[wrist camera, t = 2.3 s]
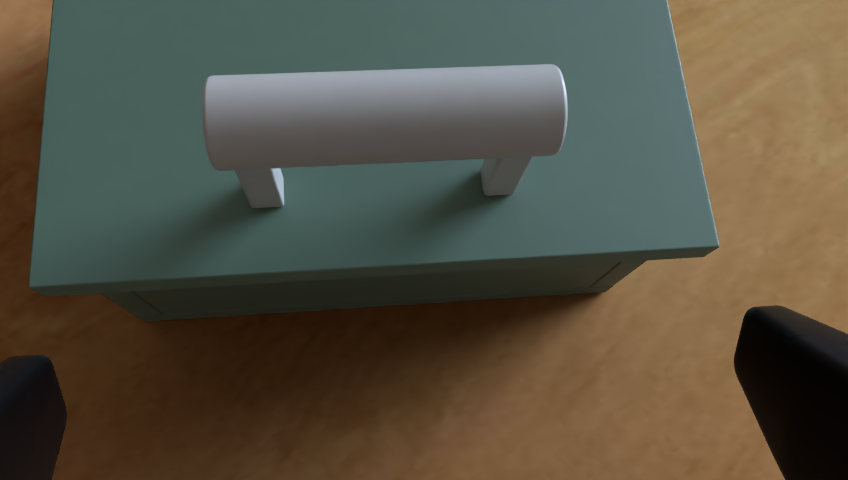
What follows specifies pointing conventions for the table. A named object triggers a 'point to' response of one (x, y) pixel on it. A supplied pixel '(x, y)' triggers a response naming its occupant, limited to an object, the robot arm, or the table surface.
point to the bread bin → (371, 291)
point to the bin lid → (359, 141)
